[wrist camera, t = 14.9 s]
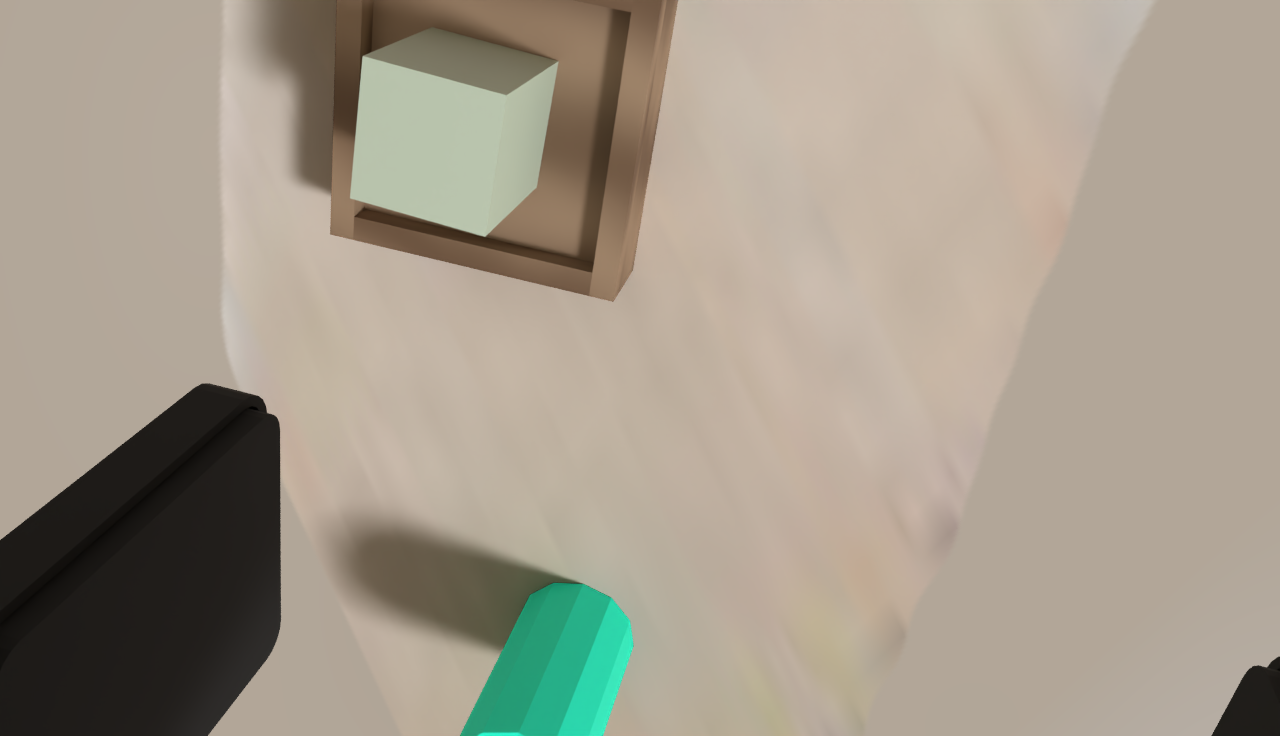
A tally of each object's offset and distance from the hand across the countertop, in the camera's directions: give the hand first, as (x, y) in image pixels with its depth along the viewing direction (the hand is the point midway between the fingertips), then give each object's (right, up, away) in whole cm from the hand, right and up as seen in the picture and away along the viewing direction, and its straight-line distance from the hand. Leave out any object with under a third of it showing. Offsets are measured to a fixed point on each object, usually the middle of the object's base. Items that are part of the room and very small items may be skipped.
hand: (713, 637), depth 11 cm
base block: (-6, +14, +35) cm, 37 cm away
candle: (-4, -11, +46) cm, 47 cm away
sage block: (-7, +13, +32) cm, 35 cm away
